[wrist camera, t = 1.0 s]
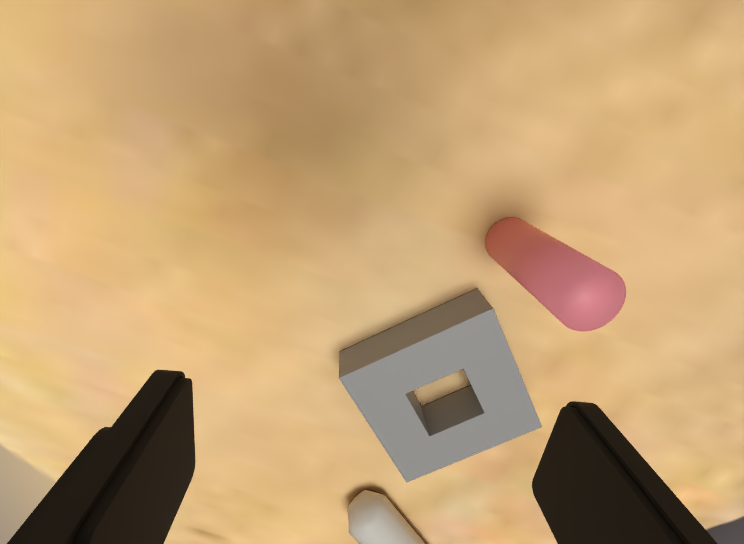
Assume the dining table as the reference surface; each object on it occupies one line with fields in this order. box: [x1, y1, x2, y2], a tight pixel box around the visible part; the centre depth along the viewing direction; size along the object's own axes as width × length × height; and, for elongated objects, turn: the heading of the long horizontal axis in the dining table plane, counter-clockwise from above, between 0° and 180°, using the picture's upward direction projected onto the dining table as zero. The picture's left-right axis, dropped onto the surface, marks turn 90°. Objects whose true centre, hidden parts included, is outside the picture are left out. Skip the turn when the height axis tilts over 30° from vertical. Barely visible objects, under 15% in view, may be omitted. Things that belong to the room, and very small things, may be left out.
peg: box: [485, 217, 626, 331], centre depth 27 cm, size 4×4×12 cm
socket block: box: [339, 288, 542, 482], centre depth 36 cm, size 14×14×4 cm
